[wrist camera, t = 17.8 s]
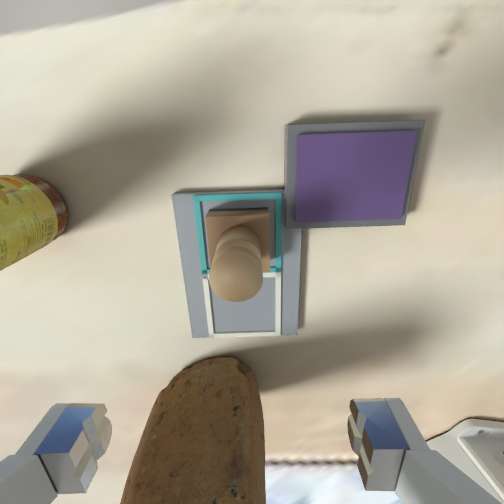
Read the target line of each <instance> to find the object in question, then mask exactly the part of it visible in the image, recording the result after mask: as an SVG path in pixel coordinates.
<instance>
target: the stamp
mask: <svg viewBox="0 0 504 504" xmlns="http://www.w3.org/2000/svg"><path fill="white" fill-rule="evenodd" d="M205 219H206V228H207V238H208V248H209V257H210V267H211V268H210V272H209V283H210V286H211V288H212V290H213V291H214V292H215V294H216V295H218V296H219V297H220V298H222V299H224V300H227V301H230V302H242V301H246V300H249V299H251V298H252V297H254V296H255V295H256V294H257V293H258V292H259V290H260V289H261V287H262V283H263V272H270V214H269V210H268V207H260V208H232V209H209V211H208V213H207V215H206V217H205Z"/></svg>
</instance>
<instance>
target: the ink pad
mask: <svg viewBox="0 0 504 504" xmlns="http://www.w3.org/2000/svg"><path fill="white" fill-rule="evenodd" d="M424 122H425V120H410V121H381V122H353V123H325V124H297V125H285V159H284V190H285V227H286V229H299V228H330V227H360V226H391V225H405V222H406V217H407V212H408V206H409V201H410V196H411V191H412V185H413V180H414V175H415V170H416V164H417V159H418V154H419V149H420V143H421V138H422V133H423V128H424Z"/></svg>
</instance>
